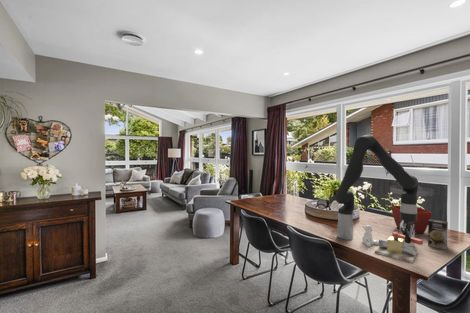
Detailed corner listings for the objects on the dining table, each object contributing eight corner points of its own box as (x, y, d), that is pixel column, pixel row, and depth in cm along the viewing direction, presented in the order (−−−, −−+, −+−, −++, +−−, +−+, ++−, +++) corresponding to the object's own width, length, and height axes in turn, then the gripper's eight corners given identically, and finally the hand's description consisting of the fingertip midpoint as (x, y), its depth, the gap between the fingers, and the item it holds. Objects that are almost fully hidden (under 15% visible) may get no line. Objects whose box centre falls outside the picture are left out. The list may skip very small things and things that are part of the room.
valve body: (377, 248, 140) (377, 236, 140) (381, 245, 145) (381, 234, 145) (412, 257, 128) (412, 244, 127) (415, 253, 132) (415, 241, 132)
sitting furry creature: (368, 247, 146) (368, 228, 146) (357, 242, 154) (357, 224, 154) (380, 245, 148) (380, 226, 148) (368, 240, 157) (368, 223, 156)
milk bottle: (408, 242, 152) (408, 212, 152) (417, 247, 145) (417, 215, 145) (396, 242, 152) (396, 212, 152) (405, 247, 145) (405, 215, 144)
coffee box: (427, 245, 147) (427, 220, 147) (428, 243, 152) (428, 218, 151) (447, 249, 140) (447, 223, 140) (447, 246, 145) (447, 221, 145)
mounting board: (374, 252, 137) (374, 250, 137) (382, 245, 148) (382, 243, 148) (412, 263, 124) (412, 260, 124) (417, 253, 135) (417, 251, 135)
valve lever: (390, 238, 137) (390, 232, 137) (394, 237, 138) (394, 231, 138) (419, 247, 123) (419, 241, 123) (423, 245, 125) (423, 240, 125)
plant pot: (432, 235, 165) (432, 212, 165) (402, 234, 169) (402, 211, 169) (417, 227, 184) (417, 206, 184) (390, 226, 188) (390, 205, 187)
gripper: (411, 214, 120) (411, 247, 120) (421, 211, 128) (420, 242, 128) (395, 211, 127) (394, 243, 127) (405, 208, 134) (405, 238, 134)
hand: (407, 242), depth 127 cm, fingers closed
